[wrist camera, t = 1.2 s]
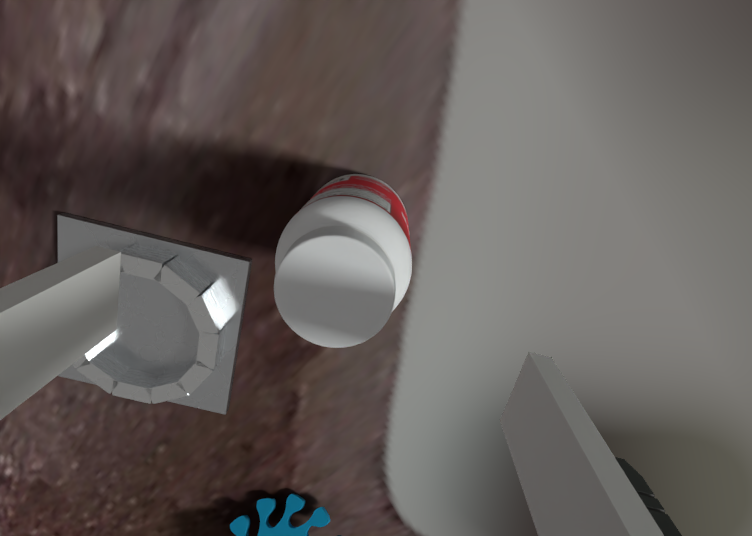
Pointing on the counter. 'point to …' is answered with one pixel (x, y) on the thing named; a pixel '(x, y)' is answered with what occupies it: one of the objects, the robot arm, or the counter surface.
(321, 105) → the counter surface
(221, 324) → the duct flange
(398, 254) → the pill bottle
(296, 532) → the blue knobbed piece
